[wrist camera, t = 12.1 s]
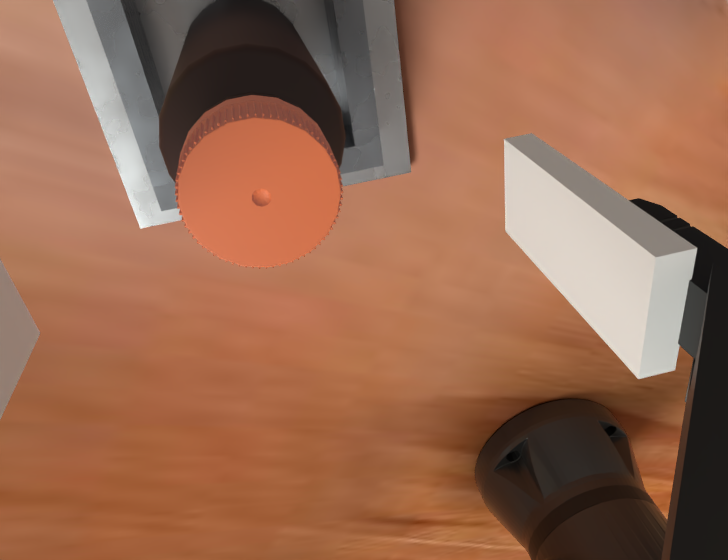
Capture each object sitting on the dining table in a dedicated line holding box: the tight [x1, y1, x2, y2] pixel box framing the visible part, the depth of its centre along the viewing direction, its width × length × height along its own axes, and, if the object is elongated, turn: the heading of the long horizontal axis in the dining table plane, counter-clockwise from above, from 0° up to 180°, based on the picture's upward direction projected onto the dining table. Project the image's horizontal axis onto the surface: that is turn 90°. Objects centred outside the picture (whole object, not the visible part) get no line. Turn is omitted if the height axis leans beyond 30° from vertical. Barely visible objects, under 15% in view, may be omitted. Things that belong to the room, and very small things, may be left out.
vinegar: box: [159, 0, 346, 269], centre depth 26 cm, size 7×7×20 cm
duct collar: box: [53, 0, 411, 228], centre depth 33 cm, size 18×18×5 cm
